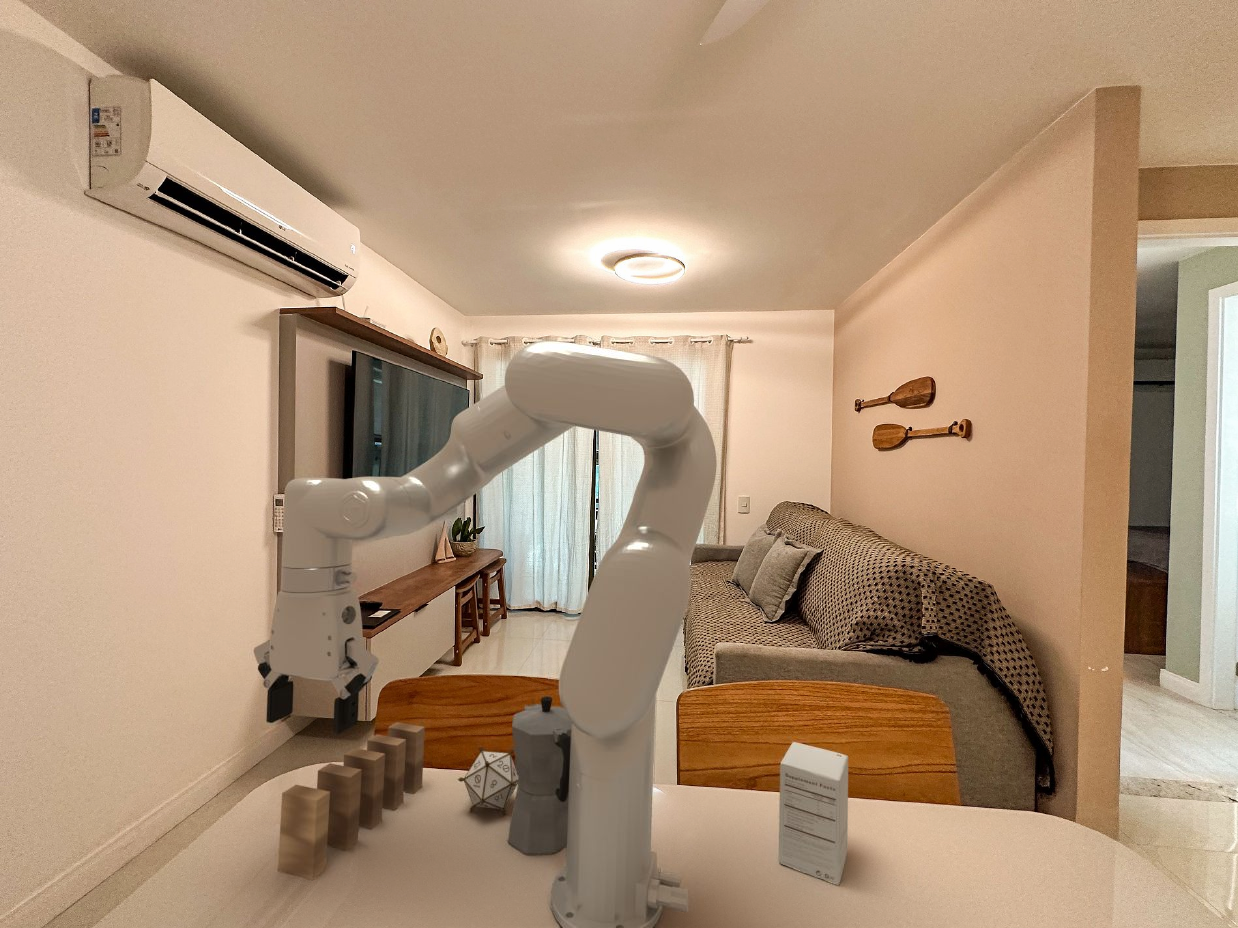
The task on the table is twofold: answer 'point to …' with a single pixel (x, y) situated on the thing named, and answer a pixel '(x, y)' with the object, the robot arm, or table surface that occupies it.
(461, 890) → the table surface
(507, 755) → the game die
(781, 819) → the supplement box
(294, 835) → the domino
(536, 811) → the coffeepot
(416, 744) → the domino
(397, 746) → the domino
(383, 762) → the domino
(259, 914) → the table surface
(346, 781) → the domino
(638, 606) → the robot arm
